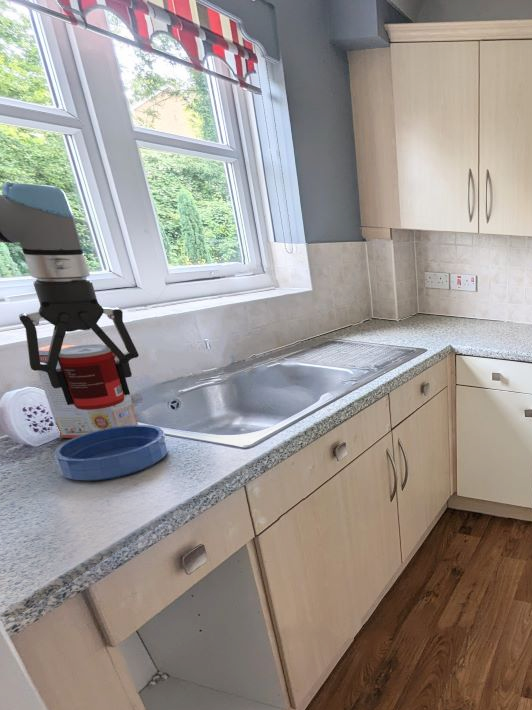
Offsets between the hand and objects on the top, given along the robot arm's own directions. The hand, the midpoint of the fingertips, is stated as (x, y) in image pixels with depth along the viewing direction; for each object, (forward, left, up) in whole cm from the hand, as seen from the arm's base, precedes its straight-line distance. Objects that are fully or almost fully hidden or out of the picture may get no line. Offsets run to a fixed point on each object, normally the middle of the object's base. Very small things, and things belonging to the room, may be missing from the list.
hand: (98, 397), depth 89 cm
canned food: (0, 0, -1) cm, 1 cm away
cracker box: (-4, +18, -15) cm, 24 cm away
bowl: (0, 0, -15) cm, 15 cm away
